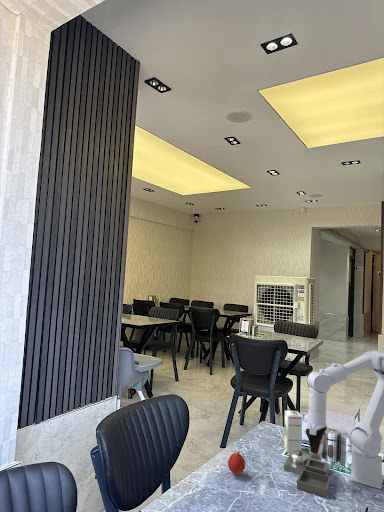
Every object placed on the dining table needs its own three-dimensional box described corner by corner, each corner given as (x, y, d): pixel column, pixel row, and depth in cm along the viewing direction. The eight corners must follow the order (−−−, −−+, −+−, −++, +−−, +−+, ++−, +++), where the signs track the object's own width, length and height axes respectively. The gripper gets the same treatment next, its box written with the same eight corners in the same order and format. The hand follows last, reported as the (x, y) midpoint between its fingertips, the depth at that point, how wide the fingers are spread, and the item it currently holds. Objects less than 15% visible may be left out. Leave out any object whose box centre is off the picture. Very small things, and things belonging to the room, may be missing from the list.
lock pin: (323, 455, 123) (324, 437, 123) (321, 461, 119) (321, 443, 119) (309, 451, 125) (310, 434, 125) (306, 457, 121) (307, 439, 121)
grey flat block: (329, 469, 129) (330, 455, 129) (325, 482, 120) (326, 467, 120) (290, 458, 135) (290, 445, 136) (283, 470, 126) (284, 455, 127)
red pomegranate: (224, 476, 120) (226, 451, 121) (231, 469, 125) (232, 445, 126) (241, 481, 117) (242, 456, 118) (247, 474, 122) (248, 449, 123)
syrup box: (301, 454, 140) (303, 415, 141) (286, 453, 140) (287, 414, 141) (297, 447, 145) (298, 410, 147) (283, 446, 146) (284, 409, 147)
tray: (330, 484, 119) (330, 476, 119) (326, 498, 111) (327, 490, 111) (302, 476, 123) (302, 468, 123) (296, 488, 115) (296, 480, 115)
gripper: (309, 400, 131) (307, 439, 130) (300, 411, 118) (299, 454, 117) (329, 405, 127) (328, 444, 126) (323, 416, 115) (321, 460, 114)
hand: (315, 449), depth 122 cm, fingers closed on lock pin, 4 cm apart
